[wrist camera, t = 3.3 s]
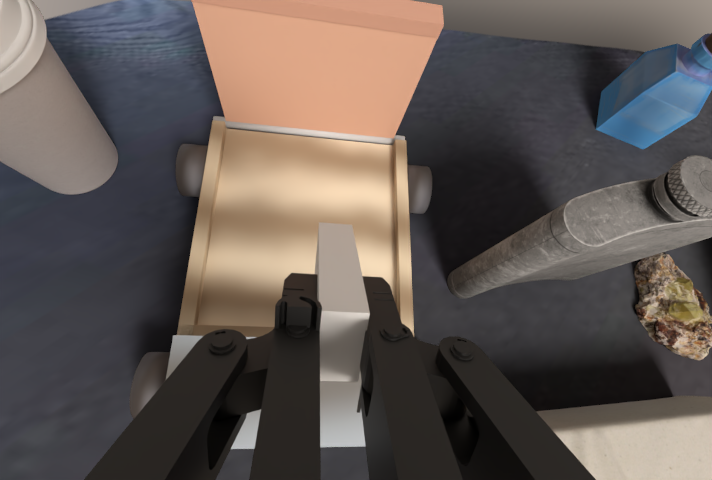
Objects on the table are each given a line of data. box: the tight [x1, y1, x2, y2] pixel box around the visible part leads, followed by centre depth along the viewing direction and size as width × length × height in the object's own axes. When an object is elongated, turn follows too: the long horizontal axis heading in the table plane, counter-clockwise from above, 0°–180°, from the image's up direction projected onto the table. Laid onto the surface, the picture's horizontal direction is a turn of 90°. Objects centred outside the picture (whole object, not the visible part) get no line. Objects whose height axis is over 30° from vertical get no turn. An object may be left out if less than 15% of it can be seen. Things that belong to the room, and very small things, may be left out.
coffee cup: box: [0, 0, 118, 194], centre depth 25 cm, size 10×10×15 cm
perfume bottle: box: [596, 33, 712, 149], centre depth 39 cm, size 6×6×12 cm
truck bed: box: [130, 120, 432, 449], centre depth 28 cm, size 24×21×8 cm
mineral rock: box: [634, 252, 712, 360], centre depth 36 cm, size 11×4×8 cm
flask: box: [447, 155, 712, 299], centre depth 27 cm, size 4×14×18 cm, turn 100°
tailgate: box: [191, 0, 444, 145], centre depth 28 cm, size 2×17×13 cm, turn 89°
